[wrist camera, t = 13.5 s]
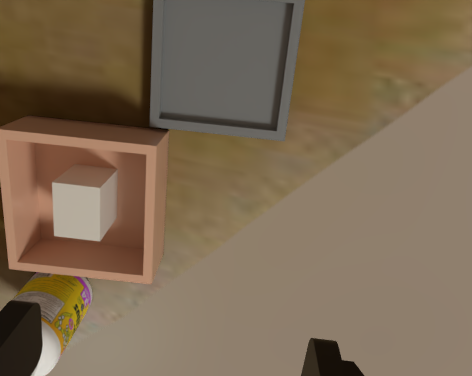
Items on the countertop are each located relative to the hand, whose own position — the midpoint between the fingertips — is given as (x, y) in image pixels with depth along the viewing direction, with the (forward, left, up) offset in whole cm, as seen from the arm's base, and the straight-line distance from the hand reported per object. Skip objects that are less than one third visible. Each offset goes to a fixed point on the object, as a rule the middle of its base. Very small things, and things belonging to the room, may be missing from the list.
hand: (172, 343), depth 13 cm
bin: (+7, -12, -29) cm, 32 cm away
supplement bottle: (+19, -16, -29) cm, 38 cm away
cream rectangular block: (+7, -12, -28) cm, 31 cm away
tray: (-6, -1, -29) cm, 29 cm away
